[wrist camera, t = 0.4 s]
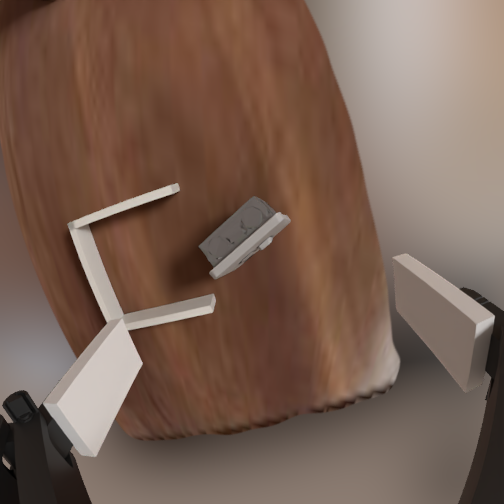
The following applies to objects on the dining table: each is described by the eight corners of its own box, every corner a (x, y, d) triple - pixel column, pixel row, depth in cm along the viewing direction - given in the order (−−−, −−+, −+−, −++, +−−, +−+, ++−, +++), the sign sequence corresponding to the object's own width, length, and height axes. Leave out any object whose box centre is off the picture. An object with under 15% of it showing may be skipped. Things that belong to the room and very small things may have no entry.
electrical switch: (235, 268, 40) (224, 293, 31) (208, 238, 40) (188, 255, 31) (291, 220, 38) (297, 231, 29) (263, 188, 38) (260, 189, 29)
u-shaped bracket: (80, 218, 38) (67, 223, 35) (177, 182, 37) (170, 185, 34) (121, 321, 43) (112, 333, 39) (216, 300, 41) (213, 312, 38)
